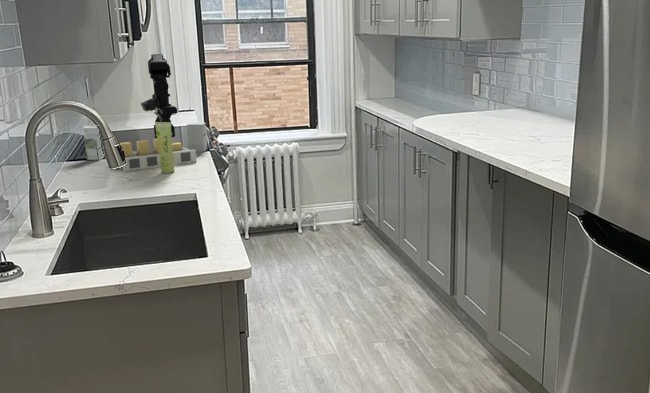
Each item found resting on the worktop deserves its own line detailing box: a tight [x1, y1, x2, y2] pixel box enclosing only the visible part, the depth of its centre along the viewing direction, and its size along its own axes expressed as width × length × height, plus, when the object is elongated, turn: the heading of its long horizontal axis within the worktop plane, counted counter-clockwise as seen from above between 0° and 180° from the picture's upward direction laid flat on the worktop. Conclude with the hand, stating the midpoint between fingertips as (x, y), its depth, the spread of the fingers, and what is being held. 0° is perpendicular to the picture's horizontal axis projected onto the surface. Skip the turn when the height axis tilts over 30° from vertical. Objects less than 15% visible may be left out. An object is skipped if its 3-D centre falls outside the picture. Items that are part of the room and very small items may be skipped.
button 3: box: [136, 139, 150, 155], centre depth 254 cm, size 4×4×6 cm
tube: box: [154, 121, 175, 174], centre depth 236 cm, size 6×5×20 cm
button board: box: [120, 145, 190, 170], centre depth 257 cm, size 14×30×4 cm, turn 122°
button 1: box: [172, 142, 183, 151], centre depth 262 cm, size 4×4×6 cm
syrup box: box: [82, 125, 105, 161], centre depth 263 cm, size 6×6×14 cm
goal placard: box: [122, 150, 197, 172], centre depth 248 cm, size 1×30×5 cm, turn 121°
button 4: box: [119, 141, 133, 157], centre depth 251 cm, size 4×4×6 cm
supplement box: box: [186, 121, 208, 153], centre depth 277 cm, size 7×7×13 cm
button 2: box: [152, 138, 159, 153], centre depth 258 cm, size 4×4×6 cm
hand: (164, 129), depth 257 cm, fingers closed
